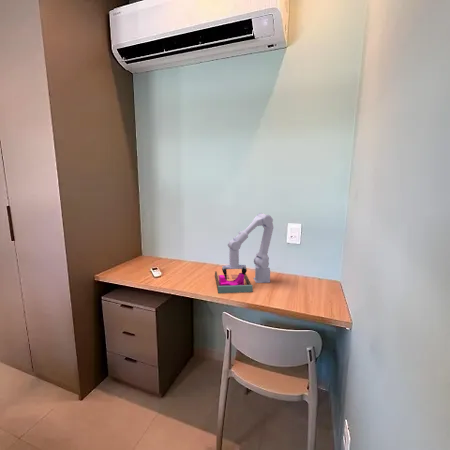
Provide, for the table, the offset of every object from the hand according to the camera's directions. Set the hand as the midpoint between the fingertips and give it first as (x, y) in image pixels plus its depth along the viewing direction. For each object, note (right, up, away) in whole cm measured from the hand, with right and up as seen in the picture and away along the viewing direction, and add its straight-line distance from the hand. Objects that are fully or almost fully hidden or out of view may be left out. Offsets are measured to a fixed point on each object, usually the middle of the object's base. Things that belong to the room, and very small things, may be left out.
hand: (234, 279), depth 169 cm
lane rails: (-1, -3, +3) cm, 5 cm away
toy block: (-1, -4, -4) cm, 6 cm away
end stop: (0, -5, -10) cm, 11 cm away
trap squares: (-2, -1, +13) cm, 14 cm away
